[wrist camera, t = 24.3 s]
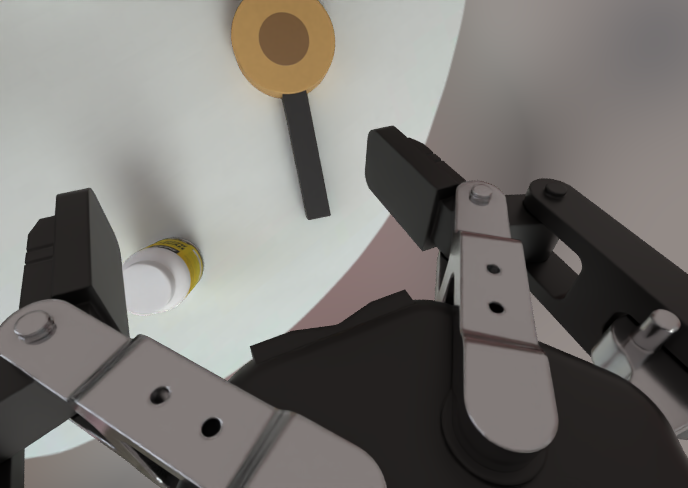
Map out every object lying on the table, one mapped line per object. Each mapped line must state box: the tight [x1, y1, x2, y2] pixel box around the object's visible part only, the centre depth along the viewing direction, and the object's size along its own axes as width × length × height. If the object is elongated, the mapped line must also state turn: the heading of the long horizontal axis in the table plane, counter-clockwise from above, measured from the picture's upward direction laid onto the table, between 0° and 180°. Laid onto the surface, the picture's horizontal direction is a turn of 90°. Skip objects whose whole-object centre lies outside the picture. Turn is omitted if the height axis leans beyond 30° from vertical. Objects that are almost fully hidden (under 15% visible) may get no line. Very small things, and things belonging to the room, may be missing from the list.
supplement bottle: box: [122, 238, 204, 316], centre depth 34 cm, size 5×5×10 cm
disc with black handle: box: [231, 0, 335, 220], centre depth 37 cm, size 20×9×3 cm, turn 11°
